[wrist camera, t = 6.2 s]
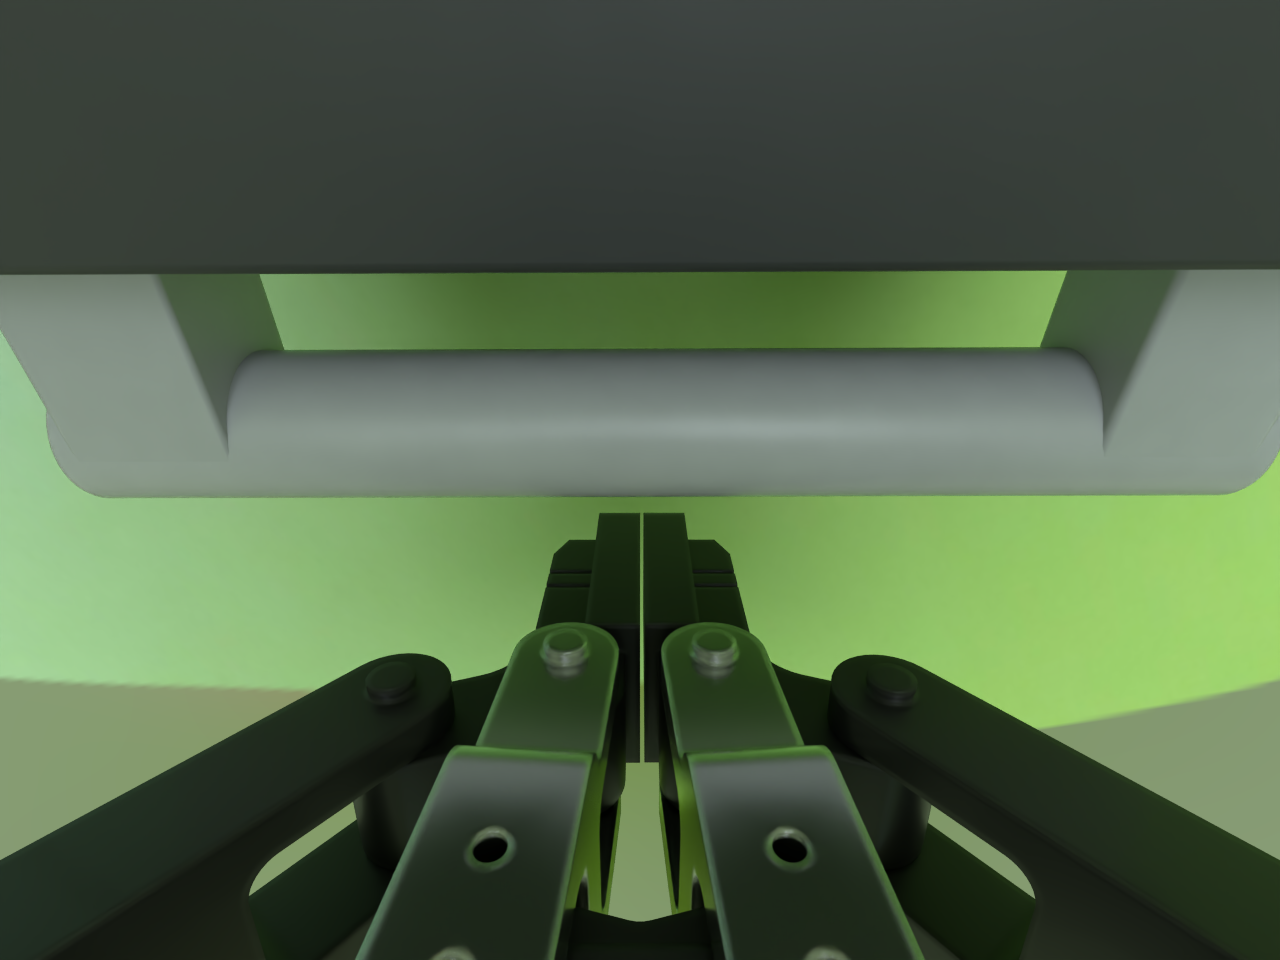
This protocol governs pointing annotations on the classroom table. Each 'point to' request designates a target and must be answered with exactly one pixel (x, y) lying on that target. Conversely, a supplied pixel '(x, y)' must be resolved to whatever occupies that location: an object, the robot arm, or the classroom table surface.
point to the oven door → (643, 239)
